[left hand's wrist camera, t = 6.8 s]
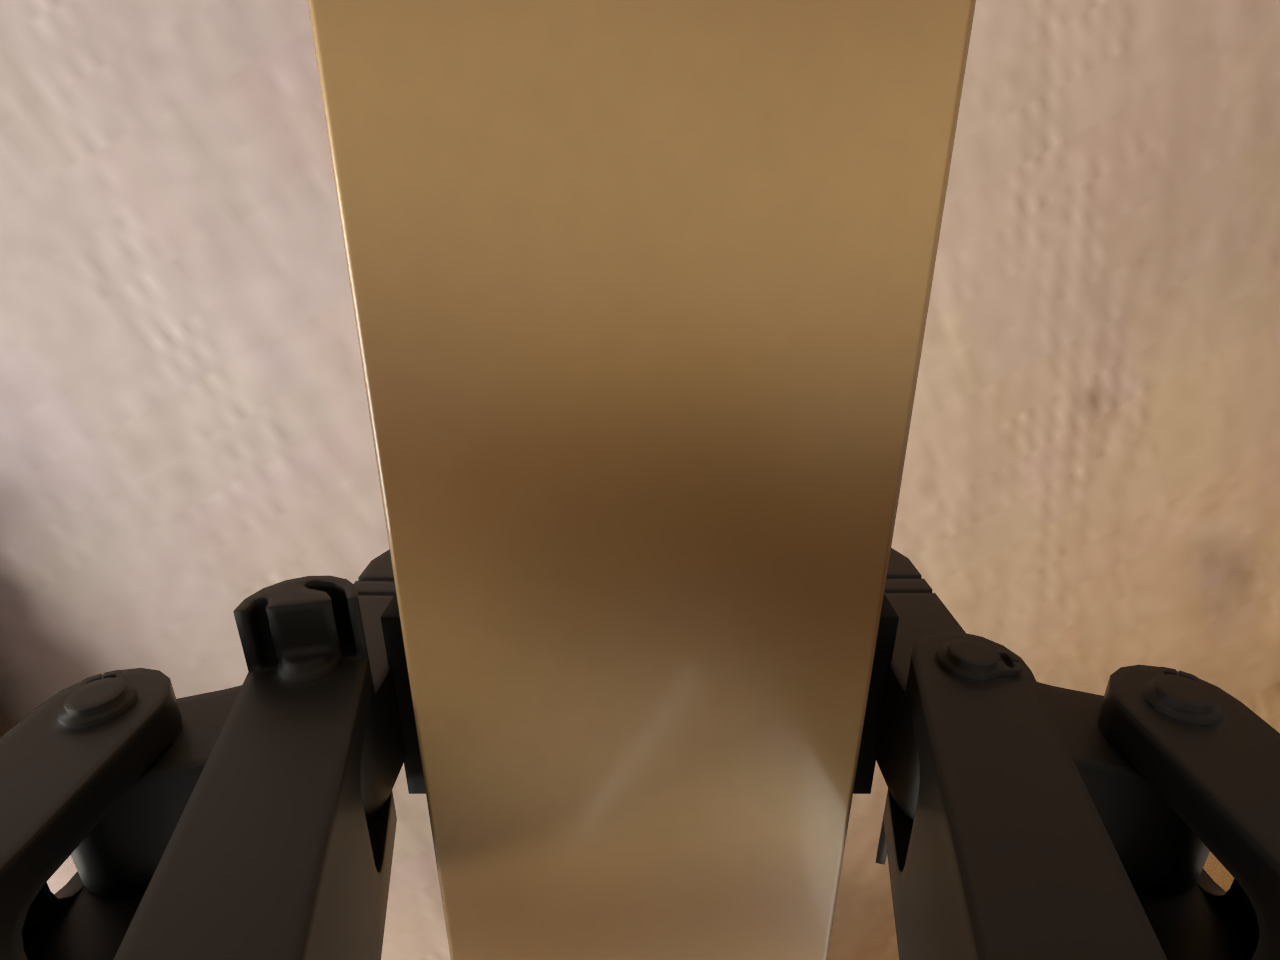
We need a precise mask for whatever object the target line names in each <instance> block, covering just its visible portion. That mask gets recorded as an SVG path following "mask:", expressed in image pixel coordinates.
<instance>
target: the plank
mask: <svg viewBox="0 0 1280 960" xmlns="http://www.w3.org/2000/svg"><path fill="white" fill-rule="evenodd" d="M975 2H976V0H308V4H309V10H310V17H311V24H312V30H313V37H314V44H315V50H316V57H317V64H318V71H319V77H320V84H321V91H322V97H323V104H324V111H325V118H326V124H327V131H328V138H329V144H330V151H331V158H332V165H333V171H334V178H335V185H336V191H337V198H338V205H339V212H340V218H341V225H342V232H343V238H344V245H345V252H346V258H347V265H348V272H349V279H350V285H351V292H352V299H353V305H354V312H355V319H356V326H357V332H358V339H359V346H360V352H361V359H362V366H363V373H364V379H365V386H366V393H367V399H368V406H369V413H370V419H371V426H372V433H373V440H374V446H375V453H376V460H377V466H378V473H379V480H380V487H381V493H382V500H383V507H384V513H385V520H386V527H387V534H388V540H389V547H390V554H391V560H392V567H393V574H394V581H395V587H396V594H397V601H398V607H399V614H400V621H401V627H402V634H403V641H404V648H405V654H406V661H407V668H408V674H409V681H410V688H411V695H412V701H413V708H414V715H415V721H416V728H417V735H418V742H419V748H420V755H421V762H422V768H423V775H424V782H425V788H426V795H427V802H428V809H429V815H430V822H431V829H432V835H433V842H434V849H435V856H436V862H437V869H438V876H439V882H440V889H441V896H442V903H443V909H444V916H445V923H446V929H447V936H448V943H449V950H450V956H451V960H827V956H828V950H829V944H830V937H831V931H832V924H833V918H834V911H835V905H836V898H837V892H838V886H839V879H840V873H841V866H842V860H843V853H844V847H845V840H846V834H847V827H848V821H849V815H850V808H851V802H852V795H853V789H854V782H855V776H856V769H857V763H858V757H859V750H860V744H861V737H862V731H863V724H864V718H865V711H866V705H867V699H868V692H869V686H870V679H871V673H872V666H873V660H874V653H875V647H876V641H877V634H878V628H879V621H880V615H881V608H882V602H883V595H884V589H885V583H886V576H887V570H888V563H889V557H890V550H891V544H892V537H893V531H894V524H895V518H896V512H897V505H898V499H899V492H900V486H901V479H902V473H903V466H904V460H905V454H906V447H907V441H908V434H909V428H910V421H911V415H912V408H913V402H914V396H915V389H916V383H917V376H918V370H919V363H920V357H921V350H922V344H923V338H924V331H925V325H926V318H927V312H928V305H929V299H930V292H931V286H932V280H933V273H934V267H935V260H936V254H937V247H938V241H939V234H940V228H941V221H942V215H943V209H944V202H945V196H946V189H947V183H948V176H949V170H950V163H951V157H952V151H953V144H954V138H955V131H956V125H957V118H958V112H959V105H960V99H961V93H962V86H963V80H964V73H965V67H966V60H967V54H968V47H969V41H970V35H971V28H972V22H973V15H974V9H975Z"/></svg>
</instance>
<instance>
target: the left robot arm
mask: <svg viewBox="0 0 1280 960" xmlns="http://www.w3.org/2000/svg"><path fill="white" fill-rule="evenodd" d="M234 615H235V619H236V623H237V627H238V631H239V635H240V639H241V643H242V647H243V651H244V655H245V659H246V663H247V667H248V671H249V673H248V675H247V677H246V679H245V681H244V683H243V685H241V686H237V687H233V688H229V689H225V690H220V691H215V692H210V693H205V694H200V695H195V696H190V697H185V698H179V699H176V697H175V694H174V691H173V687H172V684H171V681H170V678H168V677H167V676H166V675H164V674H163V673H162V672H161V671H158V670H151V669H144V668H137V669H127V670H116V671H111V672H106V673H104V674H103V675H101V674H99V675H96V676H93V677H90V678H87V679H85V680H83V681H82V682H80V683H78V684H76V685H73V686H71V687H69V688H67V689H64V690H62V691H61V692H59V693H58V694H56V695H55V696H53V697H52V698H50V699H49V700H47V701H46V702H44V703H43V704H41V705H40V706H38V707H37V708H36V709H35V710H33V711H32V712H31V713H30V714H29V715H27V716H26V717H25V718H24V719H22V720H21V721H20V722H19V723H18V724H16V725H15V726H14V727H13V728H11V729H10V730H9V731H8V732H7V733H5V734H4V735H3V736H2V737H0V960H381V953H382V944H383V935H384V926H385V918H386V909H387V900H388V891H389V882H390V874H391V865H392V856H393V847H394V838H395V830H396V821H397V818H396V811H395V805H394V799H393V793H392V788H393V786H394V784H395V781H396V779H397V777H398V774H399V772H400V770H401V767H402V765H403V763H404V765H405V771H406V777H407V784H408V790H409V794H422V793H426V788H425V782H424V775H423V768H422V762H421V755H420V748H419V742H418V735H417V728H416V721H415V715H414V708H413V701H412V695H411V688H410V681H409V674H408V668H407V661H406V654H405V648H404V641H403V634H402V627H401V621H400V614H399V607H398V601H397V594H396V587H395V581H394V574H393V567H392V560H391V554H390V550H388V551H386V552H385V553H383V554H382V555H380V556H378V557H377V558H375V559H374V560H372V561H371V562H370V563H369V565H368V566H367V567H366V569H365V570H364V571H363V573H362V574H361V575H360V576H359V580H358V581H356V582H355V583H354V584H352V583H351V582H349V581H348V580H347V579H342V578H338V577H333V576H307V577H302V578H296V579H291V580H286V581H283V582H280V583H277V584H274V585H272V586H269V587H266V588H263V589H262V590H260V591H258V592H256V593H255V594H253V595H251V596H250V597H248V598H246V599H245V600H244V601H243V602H242V603H241V604H240V605H239V606H238V607H237V608H236V609H235V610H234ZM876 760H877V763H878V765H879V767H880V770H881V772H882V774H883V777H884V779H885V781H886V784H887V786H888V793H887V799H886V805H885V811H884V816H883V822H882V828H881V833H880V839H879V845H878V851H877V858H876V863H880V864H885V861H886V856H887V854H888V863H889V872H890V881H891V890H892V898H893V907H894V916H895V925H896V933H897V942H898V951H899V960H1280V733H1278V732H1277V731H1276V730H1275V729H1274V728H1272V727H1271V726H1270V725H1269V724H1267V723H1266V722H1265V721H1264V720H1262V719H1261V718H1260V717H1259V716H1258V715H1256V714H1255V713H1254V712H1253V711H1251V710H1250V709H1249V708H1248V707H1246V706H1245V705H1244V704H1243V703H1241V702H1240V701H1239V700H1237V699H1236V698H1234V697H1232V696H1231V695H1229V694H1228V693H1226V692H1225V691H1223V690H1222V689H1220V688H1219V687H1217V686H1215V685H1212V684H1210V683H1208V682H1205V681H1203V680H1201V679H1199V678H1197V677H1196V676H1194V675H1192V674H1189V673H1186V672H1182V671H1179V672H1178V671H1176V670H1175V669H1171V668H1166V667H1155V666H1145V665H1135V666H1128V667H1122V668H1120V669H1118V670H1117V671H1116V672H1114V673H1113V674H1112V675H1110V679H1109V682H1108V685H1107V688H1106V692H1105V695H1104V696H1101V695H1096V694H1091V693H1085V692H1080V691H1075V690H1070V689H1065V688H1060V687H1055V686H1050V685H1046V684H1043V683H1039V682H1036V680H1035V678H1034V676H1033V674H1032V671H1031V670H1030V669H1029V668H1028V666H1027V665H1026V664H1025V662H1024V661H1023V660H1022V659H1021V658H1020V657H1019V656H1018V655H1016V654H1015V653H1013V652H1012V651H1010V650H1009V649H1007V648H1006V647H1004V646H1003V645H1000V644H998V643H995V642H993V641H991V640H988V639H986V638H983V637H980V636H975V635H971V634H966V633H965V631H964V630H963V629H962V628H961V626H960V625H959V624H958V622H957V621H956V620H955V618H954V617H953V616H952V615H951V613H950V612H949V611H948V609H947V608H946V607H945V605H944V604H943V603H942V602H941V600H940V599H939V598H938V596H937V595H936V594H935V593H932V589H931V587H930V586H929V585H928V583H927V582H926V581H925V580H924V579H921V574H920V573H919V572H918V570H917V569H916V568H915V567H914V565H913V564H912V563H911V561H910V560H909V559H908V558H907V557H905V556H903V555H902V554H900V553H899V552H897V551H895V550H894V549H892V548H891V550H890V557H889V563H888V570H887V576H886V583H885V589H884V595H883V602H882V608H881V615H880V621H879V628H878V634H877V641H876V647H875V653H874V660H873V666H872V673H871V679H870V686H869V692H868V699H867V705H866V711H865V718H864V724H863V731H862V737H861V744H860V750H859V757H858V763H857V769H856V776H855V782H854V789H853V794H870V793H871V787H872V780H873V774H874V768H875V762H876ZM1210 851H1211V852H1212V853H1213V855H1214V856H1215V857H1216V858H1217V859H1218V860H1219V861H1220V862H1221V863H1222V865H1223V866H1224V867H1225V868H1226V869H1227V870H1228V871H1229V872H1230V873H1231V875H1232V876H1233V877H1234V881H1233V883H1232V885H1231V887H1230V889H1229V890H1228V891H1227V892H1226V891H1224V890H1223V889H1222V888H1221V887H1220V886H1218V885H1217V884H1216V883H1215V882H1214V881H1213V880H1212V878H1211V877H1210V876H1209V875H1208V874H1207V873H1206V871H1205V870H1204V869H1203V866H1204V864H1205V862H1206V859H1207V857H1208V854H1209V852H1210ZM70 855H71V856H72V859H73V861H74V863H75V866H76V868H77V873H76V874H75V875H74V876H73V877H72V878H71V880H70V881H69V882H68V883H67V884H66V885H65V886H64V887H63V888H62V889H60V890H59V891H58V892H57V893H56V894H53V893H52V892H51V891H50V889H49V887H48V885H47V882H46V881H47V880H48V879H49V878H50V877H51V876H52V875H53V874H54V873H55V871H56V870H57V869H58V868H59V867H60V866H61V865H62V864H63V862H64V861H65V860H66V859H67V858H68V857H69V856H70Z"/></svg>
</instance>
